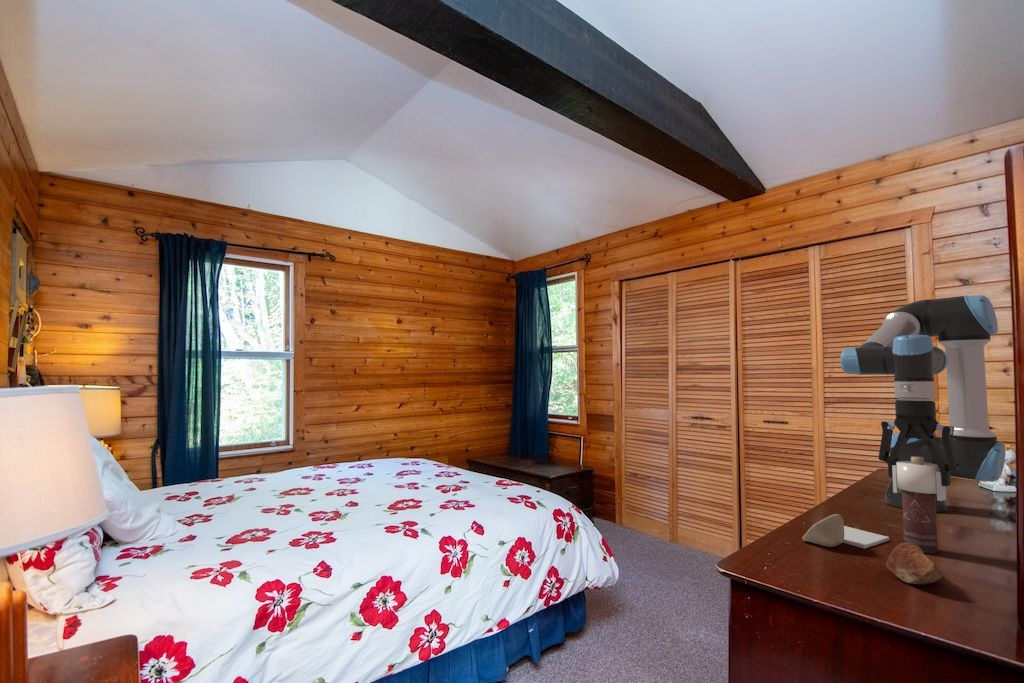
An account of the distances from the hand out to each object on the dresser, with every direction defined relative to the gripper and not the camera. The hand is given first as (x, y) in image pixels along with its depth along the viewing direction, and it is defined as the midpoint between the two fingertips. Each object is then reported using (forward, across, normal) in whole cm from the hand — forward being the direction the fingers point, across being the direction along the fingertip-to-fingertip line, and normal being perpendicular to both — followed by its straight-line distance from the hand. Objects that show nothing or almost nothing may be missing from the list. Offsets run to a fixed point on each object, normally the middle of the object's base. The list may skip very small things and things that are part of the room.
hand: (919, 495), depth 118 cm
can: (+13, 0, 0) cm, 13 cm away
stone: (+13, -14, -16) cm, 25 cm away
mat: (+13, -13, -5) cm, 19 cm away
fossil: (+13, +7, -22) cm, 26 cm away
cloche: (-1, 0, 0) cm, 1 cm away
